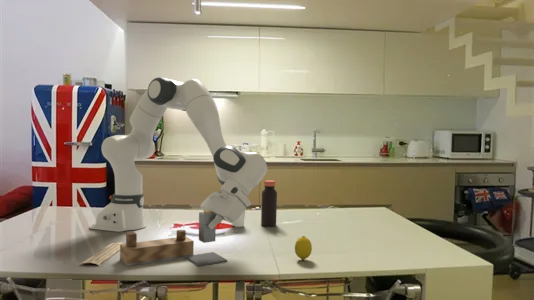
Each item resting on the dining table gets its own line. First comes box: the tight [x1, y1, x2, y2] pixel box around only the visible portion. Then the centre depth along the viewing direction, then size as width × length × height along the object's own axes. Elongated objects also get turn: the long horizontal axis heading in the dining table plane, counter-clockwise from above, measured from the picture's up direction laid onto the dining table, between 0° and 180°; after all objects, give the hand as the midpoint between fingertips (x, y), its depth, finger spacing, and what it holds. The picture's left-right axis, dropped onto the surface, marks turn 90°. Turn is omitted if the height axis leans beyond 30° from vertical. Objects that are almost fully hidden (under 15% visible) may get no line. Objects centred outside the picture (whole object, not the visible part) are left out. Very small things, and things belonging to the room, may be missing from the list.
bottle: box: [260, 179, 278, 228], centre depth 189 cm, size 7×7×20 cm
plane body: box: [119, 229, 195, 267], centre depth 137 cm, size 22×7×9 cm, turn 123°
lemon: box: [294, 235, 313, 261], centre depth 139 cm, size 6×6×8 cm
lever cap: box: [198, 210, 217, 244], centre depth 136 cm, size 4×4×10 cm
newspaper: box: [78, 241, 126, 267], centre depth 140 cm, size 24×7×2 cm, turn 178°
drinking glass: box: [231, 210, 246, 228], centre depth 186 cm, size 7×7×15 cm
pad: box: [185, 251, 228, 267], centre depth 137 cm, size 10×10×1 cm
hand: (205, 225), depth 136 cm, fingers closed on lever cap, 4 cm apart
